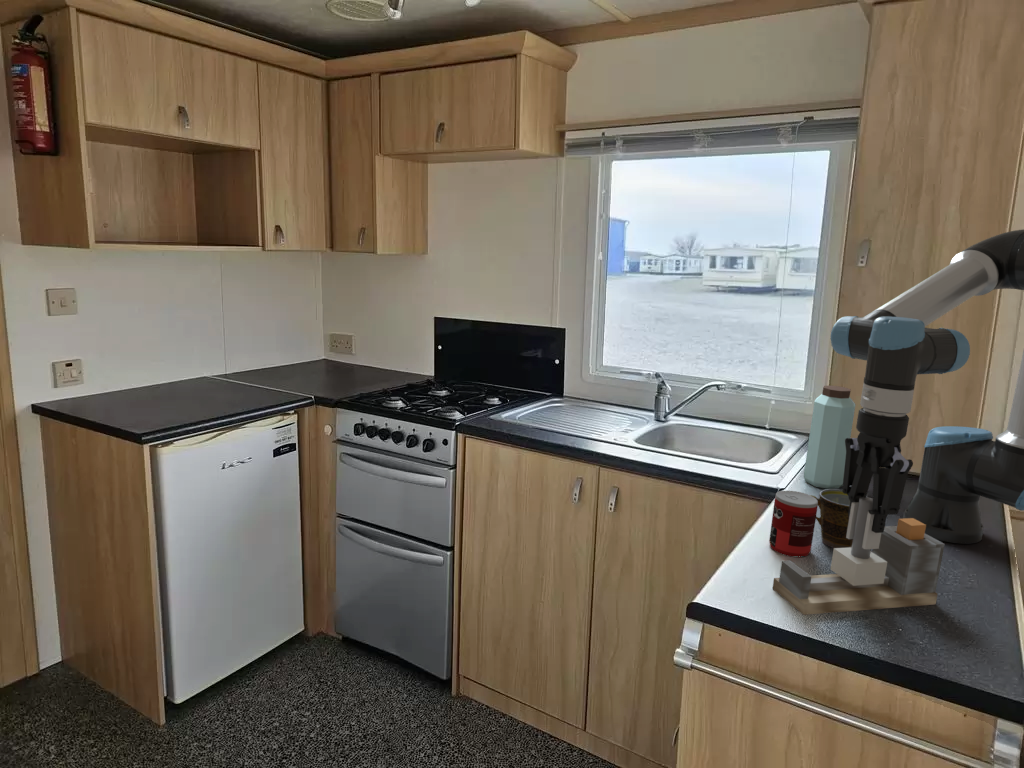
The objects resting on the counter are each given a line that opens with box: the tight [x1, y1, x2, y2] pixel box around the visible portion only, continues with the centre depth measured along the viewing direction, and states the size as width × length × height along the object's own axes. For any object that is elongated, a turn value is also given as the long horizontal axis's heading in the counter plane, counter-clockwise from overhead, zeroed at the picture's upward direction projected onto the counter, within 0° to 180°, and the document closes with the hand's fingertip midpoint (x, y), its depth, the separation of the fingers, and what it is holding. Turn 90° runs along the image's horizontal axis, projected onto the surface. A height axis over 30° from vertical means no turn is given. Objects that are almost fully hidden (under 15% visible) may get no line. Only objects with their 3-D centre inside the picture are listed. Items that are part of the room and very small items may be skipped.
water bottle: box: [803, 385, 856, 490], centre depth 182 cm, size 10×10×25 cm
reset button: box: [896, 518, 926, 540], centre depth 126 cm, size 3×3×3 cm
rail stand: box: [772, 525, 946, 616], centre depth 125 cm, size 26×9×11 cm, turn 103°
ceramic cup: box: [809, 488, 853, 549], centre depth 148 cm, size 13×10×10 cm
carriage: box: [830, 496, 887, 586], centre depth 124 cm, size 6×6×14 cm
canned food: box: [768, 490, 819, 558], centre depth 143 cm, size 8×8×11 cm
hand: (862, 542), depth 124 cm, fingers open, 3 cm apart
